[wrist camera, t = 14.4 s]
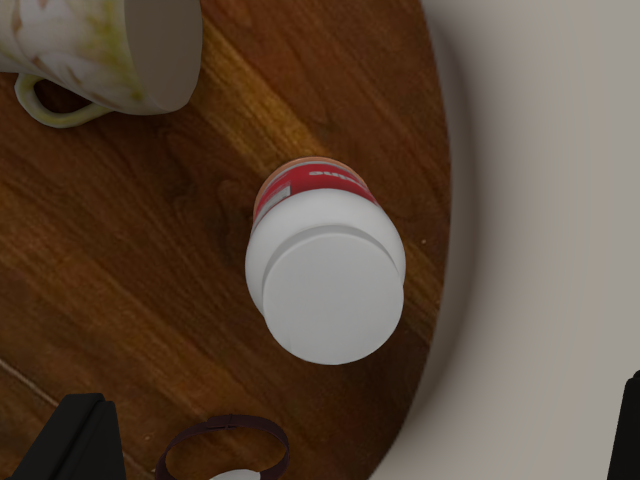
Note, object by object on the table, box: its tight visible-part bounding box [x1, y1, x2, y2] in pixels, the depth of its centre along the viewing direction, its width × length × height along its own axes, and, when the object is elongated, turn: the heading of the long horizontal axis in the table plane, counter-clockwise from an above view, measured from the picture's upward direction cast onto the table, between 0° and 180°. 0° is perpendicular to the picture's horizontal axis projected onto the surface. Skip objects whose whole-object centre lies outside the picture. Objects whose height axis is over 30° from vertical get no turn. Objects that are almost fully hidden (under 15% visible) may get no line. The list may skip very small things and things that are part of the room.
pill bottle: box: [245, 161, 406, 365], centre depth 23 cm, size 6×6×11 cm
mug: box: [0, 0, 203, 128], centre depth 23 cm, size 8×10×10 cm
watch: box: [155, 414, 290, 480], centre depth 31 cm, size 8×5×4 cm, turn 100°
